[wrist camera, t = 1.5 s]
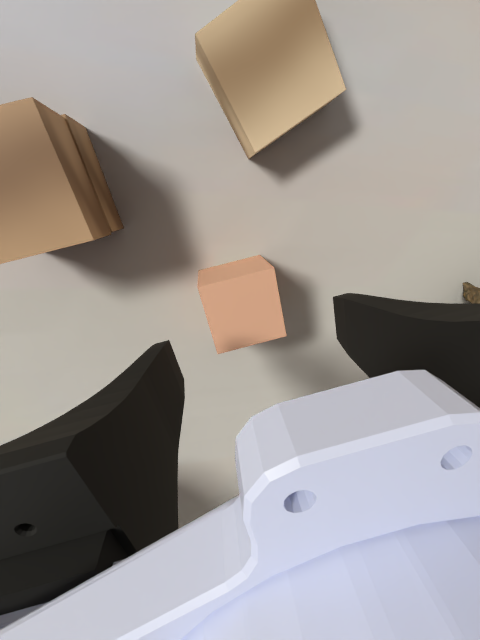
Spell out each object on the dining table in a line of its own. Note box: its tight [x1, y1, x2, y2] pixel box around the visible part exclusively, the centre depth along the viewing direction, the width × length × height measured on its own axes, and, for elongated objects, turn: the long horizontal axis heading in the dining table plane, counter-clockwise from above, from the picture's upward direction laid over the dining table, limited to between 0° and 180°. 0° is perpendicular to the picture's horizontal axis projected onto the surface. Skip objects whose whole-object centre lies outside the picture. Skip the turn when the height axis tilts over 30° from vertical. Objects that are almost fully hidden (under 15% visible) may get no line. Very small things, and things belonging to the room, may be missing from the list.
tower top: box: [0, 97, 111, 264], centre depth 12 cm, size 5×5×2 cm
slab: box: [195, 0, 346, 159], centre depth 13 cm, size 5×5×2 cm
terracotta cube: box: [198, 255, 286, 354], centre depth 17 cm, size 4×4×4 cm
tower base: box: [61, 114, 124, 232], centre depth 14 cm, size 5×5×2 cm
